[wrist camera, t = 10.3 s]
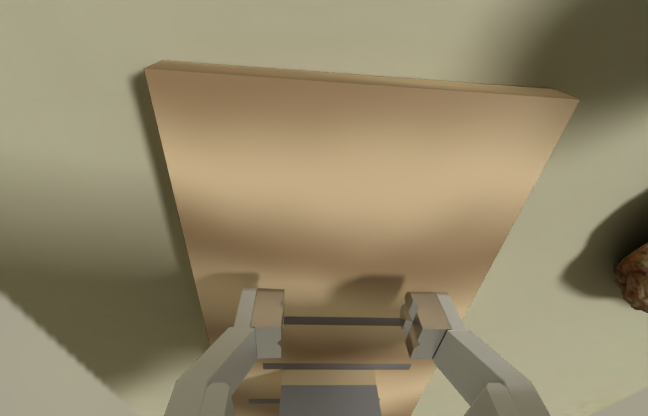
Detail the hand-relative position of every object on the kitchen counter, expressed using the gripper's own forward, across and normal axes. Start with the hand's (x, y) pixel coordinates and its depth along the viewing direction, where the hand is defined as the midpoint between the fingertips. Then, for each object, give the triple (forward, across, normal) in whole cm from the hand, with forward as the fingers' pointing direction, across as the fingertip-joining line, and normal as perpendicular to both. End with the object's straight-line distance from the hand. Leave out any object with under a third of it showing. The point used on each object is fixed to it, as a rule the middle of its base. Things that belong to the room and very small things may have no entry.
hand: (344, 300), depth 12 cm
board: (+2, 0, +5) cm, 6 cm away
